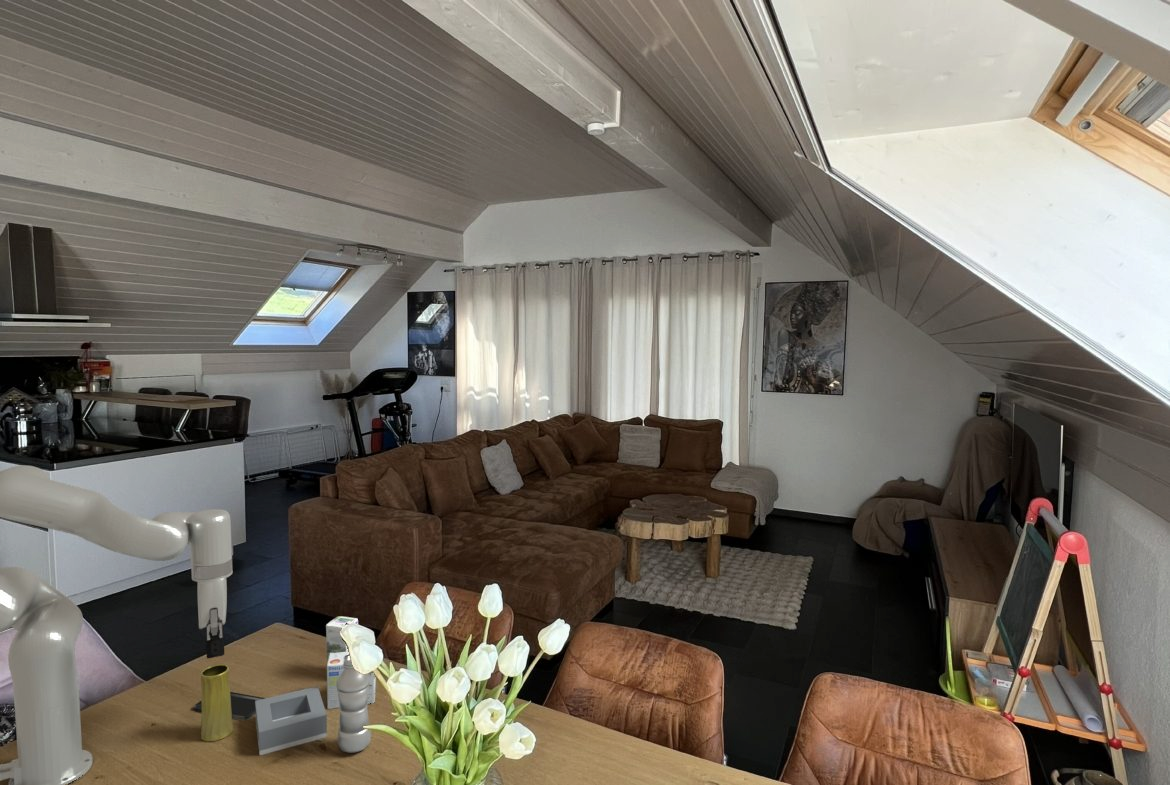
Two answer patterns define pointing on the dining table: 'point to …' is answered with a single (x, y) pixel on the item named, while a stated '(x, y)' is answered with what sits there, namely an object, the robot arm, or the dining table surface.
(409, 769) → the dining table surface
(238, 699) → the phone
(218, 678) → the vase
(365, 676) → the plastic bottle
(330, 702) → the light bulb box
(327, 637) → the syrup box
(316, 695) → the socket block
